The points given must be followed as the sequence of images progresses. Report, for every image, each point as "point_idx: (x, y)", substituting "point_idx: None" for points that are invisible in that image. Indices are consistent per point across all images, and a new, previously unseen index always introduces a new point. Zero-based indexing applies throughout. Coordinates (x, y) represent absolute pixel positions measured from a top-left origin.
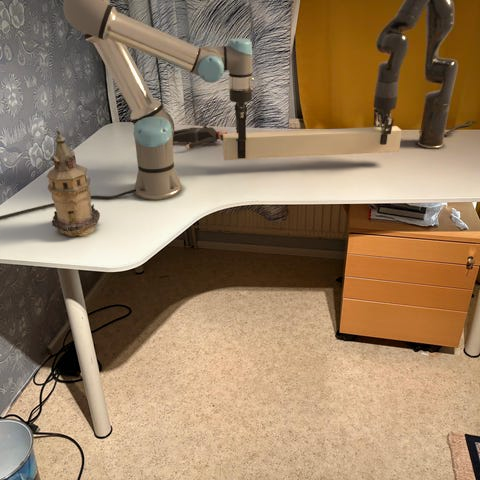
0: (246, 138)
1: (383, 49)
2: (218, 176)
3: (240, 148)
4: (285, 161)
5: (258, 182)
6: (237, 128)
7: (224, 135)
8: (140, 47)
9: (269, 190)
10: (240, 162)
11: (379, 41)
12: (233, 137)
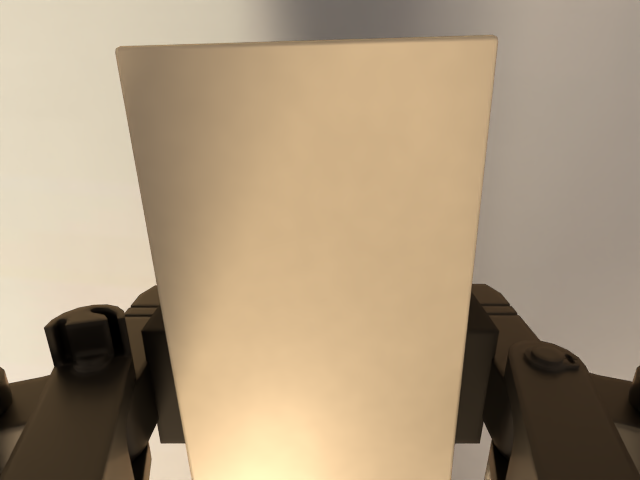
0: (194, 472)
1: None
2: (240, 10)
3: (138, 305)
4: (460, 473)
5: (129, 302)
6: (523, 445)
7: (351, 78)
8: None
9: (9, 350)
10: (515, 212)
11: None
12: (189, 281)
